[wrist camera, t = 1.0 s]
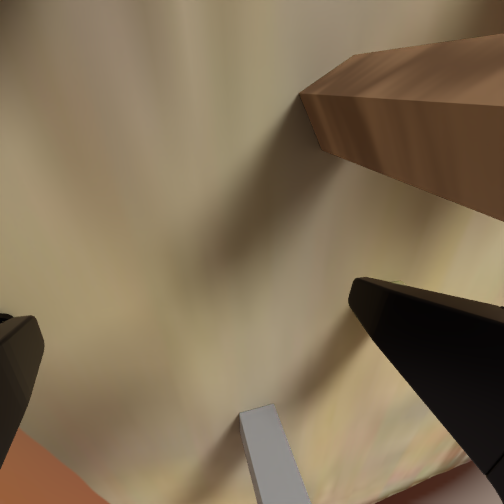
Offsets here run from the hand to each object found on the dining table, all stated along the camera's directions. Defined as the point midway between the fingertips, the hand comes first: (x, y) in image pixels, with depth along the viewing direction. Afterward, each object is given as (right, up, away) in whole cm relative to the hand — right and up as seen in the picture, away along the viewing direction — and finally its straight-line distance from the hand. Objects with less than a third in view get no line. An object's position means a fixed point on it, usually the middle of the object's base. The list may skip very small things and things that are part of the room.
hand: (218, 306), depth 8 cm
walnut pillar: (+6, +11, +11) cm, 17 cm away
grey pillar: (+1, -18, +25) cm, 31 cm away
